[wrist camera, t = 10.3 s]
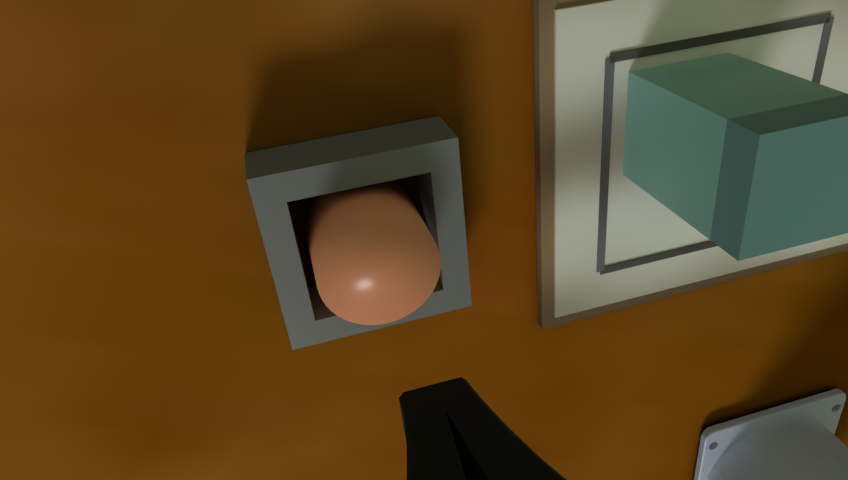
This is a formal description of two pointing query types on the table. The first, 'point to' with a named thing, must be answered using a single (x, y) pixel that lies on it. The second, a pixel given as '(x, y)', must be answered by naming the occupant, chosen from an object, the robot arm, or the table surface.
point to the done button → (371, 253)
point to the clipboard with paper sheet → (605, 134)
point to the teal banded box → (740, 151)
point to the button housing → (346, 169)
